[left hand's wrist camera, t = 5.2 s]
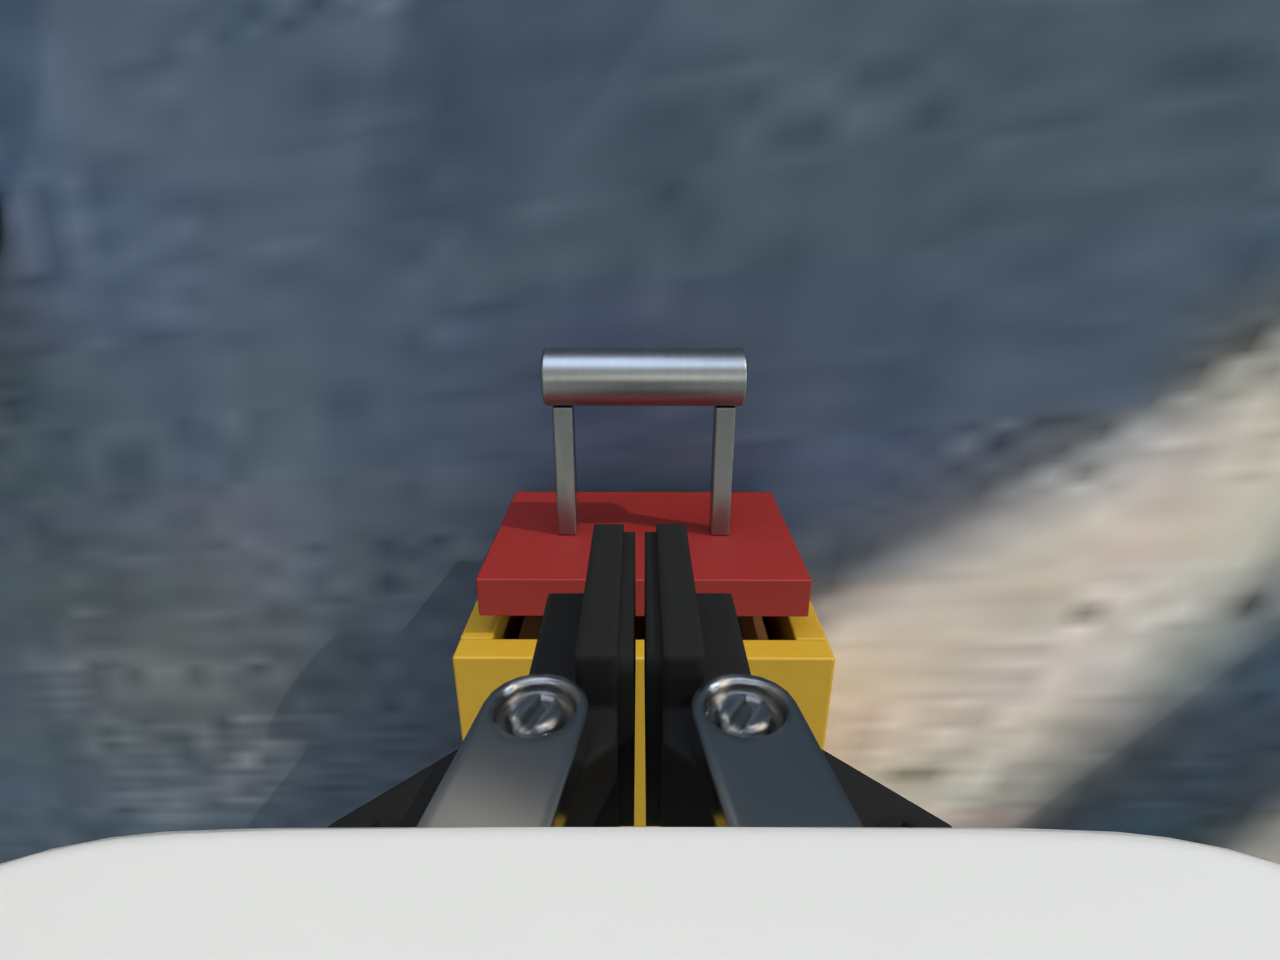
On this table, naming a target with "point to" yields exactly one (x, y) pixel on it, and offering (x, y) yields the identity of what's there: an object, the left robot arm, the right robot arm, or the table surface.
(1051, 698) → the table surface
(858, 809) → the left robot arm
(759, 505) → the drawer
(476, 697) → the yellow drawer casing
